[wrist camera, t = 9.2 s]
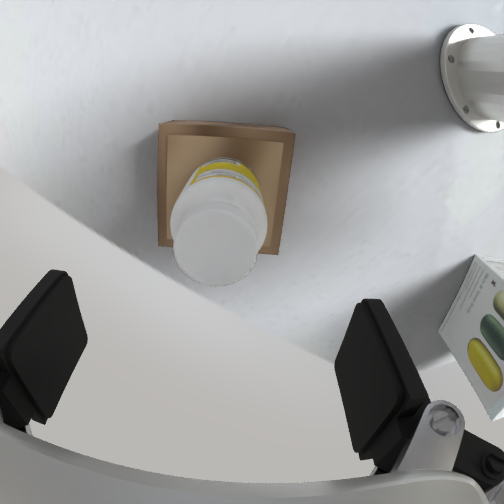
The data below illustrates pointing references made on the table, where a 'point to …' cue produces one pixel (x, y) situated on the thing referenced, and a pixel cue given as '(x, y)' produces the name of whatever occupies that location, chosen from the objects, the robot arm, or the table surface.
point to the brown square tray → (224, 146)
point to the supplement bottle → (219, 223)
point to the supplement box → (480, 331)
